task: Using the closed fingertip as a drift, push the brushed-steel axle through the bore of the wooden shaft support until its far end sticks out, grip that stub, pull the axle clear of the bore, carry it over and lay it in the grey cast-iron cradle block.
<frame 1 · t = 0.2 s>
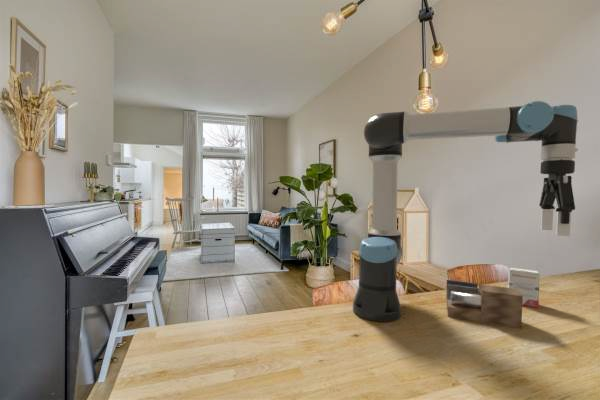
hand: (554, 232, 86), 28 cm above the table, fingers open, 13 cm apart
axle: (483, 308, 91), point 3 cm above the table, touching wooden shaft support
ink box: (522, 303, 105), on the table
v block: (462, 300, 106), on the table
wooden shaft support: (498, 320, 90), on the table
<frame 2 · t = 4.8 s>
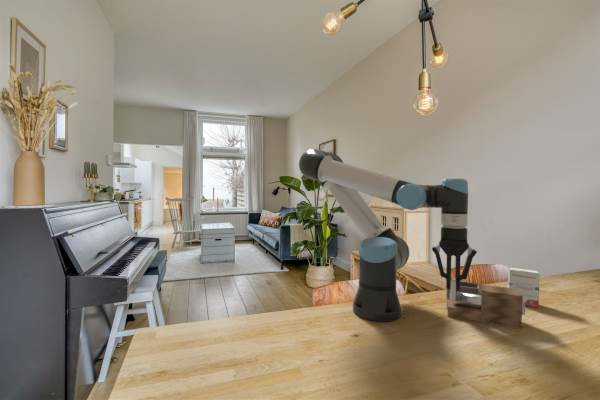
hand: (452, 299, 95), 4 cm above the table, fingers closed
axle: (487, 309, 91), point 3 cm above the table
everything else where it was.
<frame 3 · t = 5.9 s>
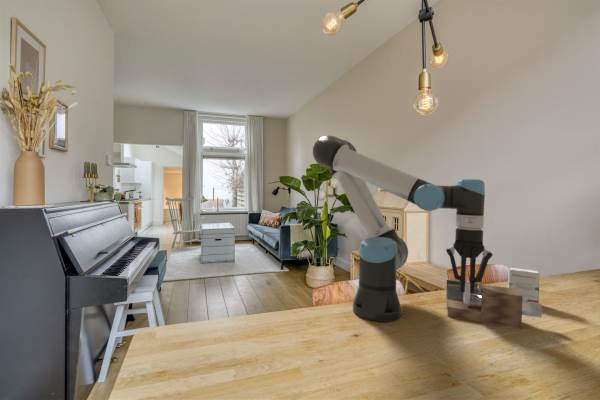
hand: (466, 302, 93), 4 cm above the table, fingers closed
axle: (502, 311, 89), point 3 cm above the table, touching wooden shaft support, gripper
everything else where it was.
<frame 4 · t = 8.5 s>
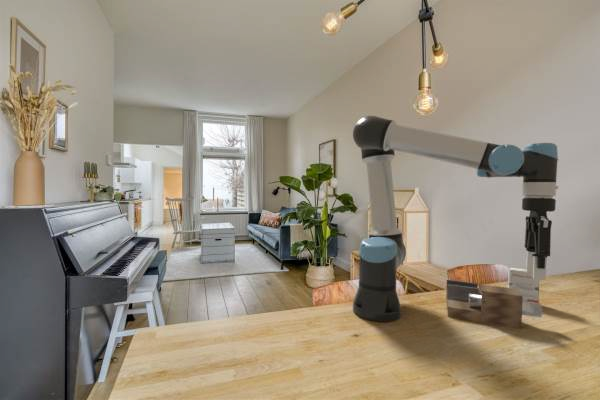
hand: (535, 276, 86), 15 cm above the table, fingers open, 6 cm apart
axle: (502, 311, 89), point 3 cm above the table, touching wooden shaft support
everything else where it was.
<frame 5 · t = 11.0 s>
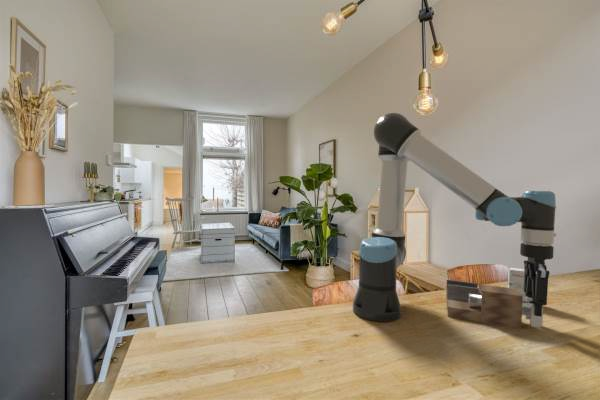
hand: (533, 322, 86), 1 cm above the table, fingers closed on axle, 4 cm apart
axle: (502, 311, 89), point 3 cm above the table, touching wooden shaft support, gripper
everything else where it was.
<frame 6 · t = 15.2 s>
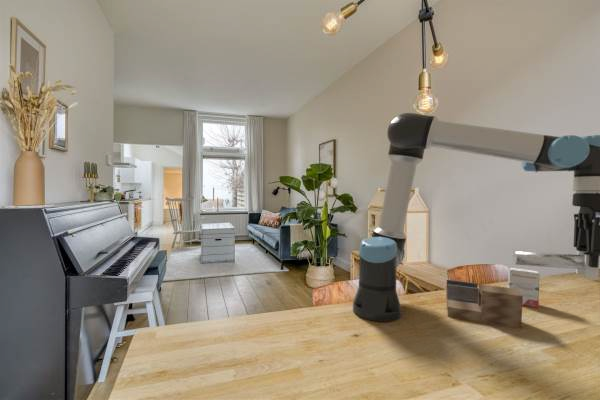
hand: (586, 276, 82), 16 cm above the table, fingers closed on axle, 4 cm apart
axle: (553, 267, 85), point 18 cm above the table, touching gripper
everything else where it was.
when the fingers open (3 cm above the table, at t = 19.3 s): axle drops 1 cm, resting on v block.
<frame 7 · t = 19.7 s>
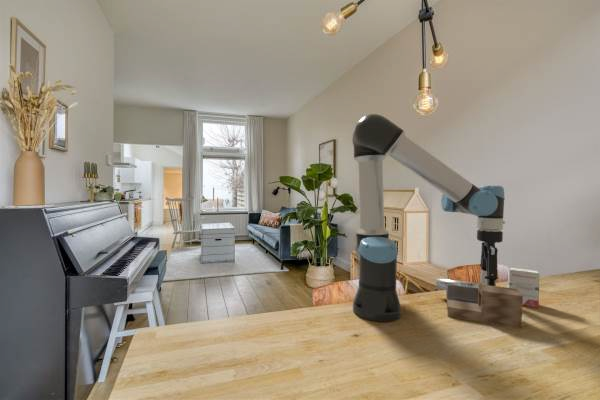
hand: (487, 293, 103), 4 cm above the table, fingers open, 10 cm apart
axle: (463, 292, 106), point 3 cm above the table, touching v block
everything else where it was.
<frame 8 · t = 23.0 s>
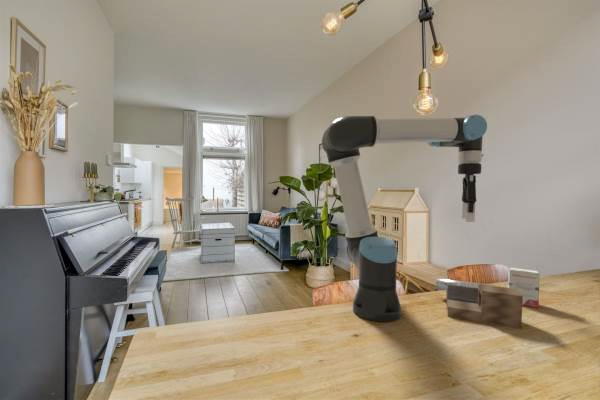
hand: (467, 220, 110), 29 cm above the table, fingers open, 13 cm apart
axle: (463, 292, 106), point 3 cm above the table, tilted 7°, touching v block
everything else where it was.
at the end: axle inside the target area on the v block (0.1 cm from its centre), point 3.0 cm above the v block's base; the gripper is holding nothing; axle touching v block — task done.
